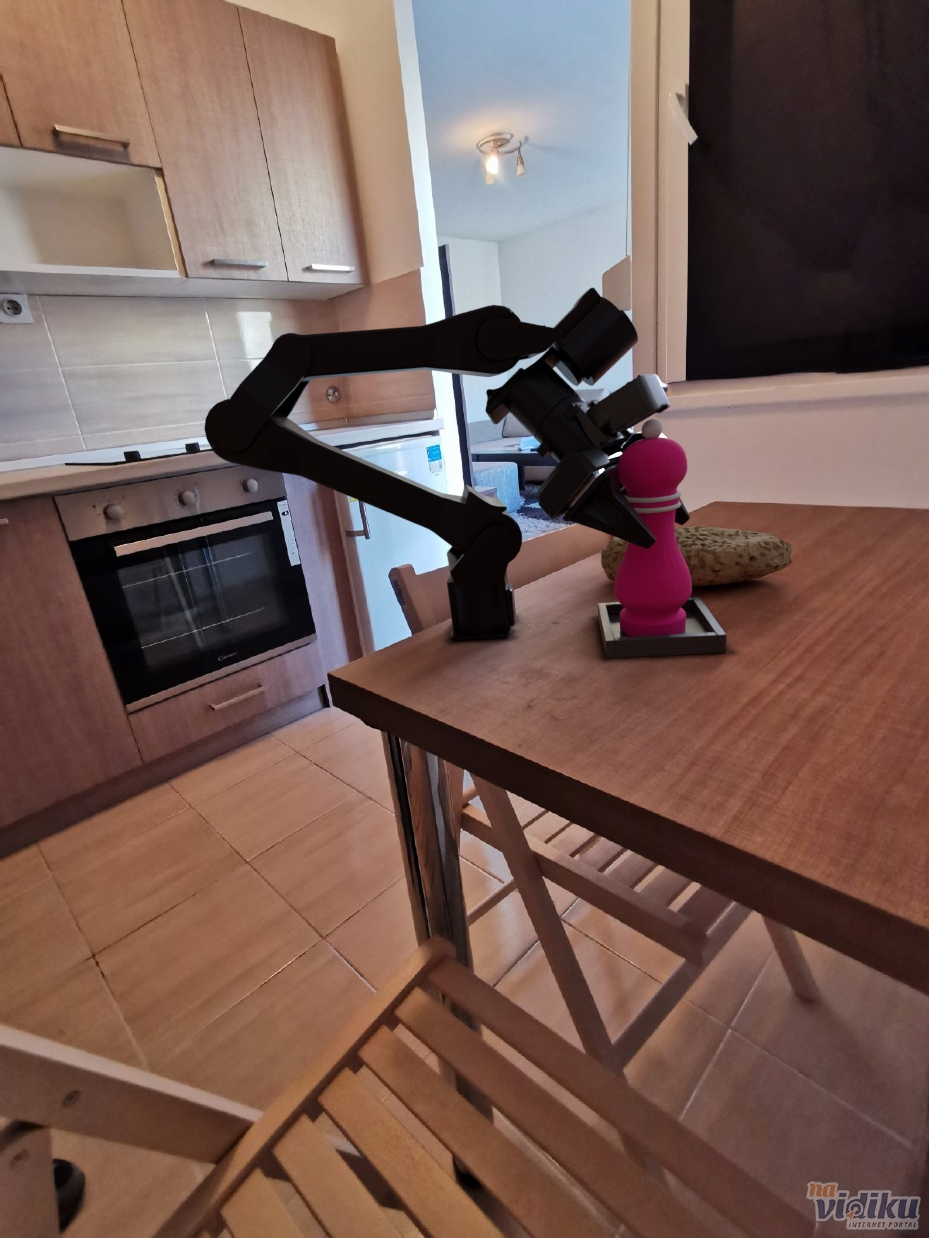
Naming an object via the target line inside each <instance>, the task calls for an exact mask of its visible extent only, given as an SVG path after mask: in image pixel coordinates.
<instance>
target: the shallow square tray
mask: <svg viewBox="0 0 929 1238" xmlns="http://www.w3.org/2000/svg"><path fill="white" fill-rule="evenodd" d="M680 608H682V609H683V610H684V611H685V612H686V629H685V631H684V632H683V633H682V634H670V635H651V636H632V637H628V636H626V635H625V634H623V633H622V631H621V630H620V612H621V611H622V610H623V609H624V607H623V606H622V605H621V604H620V603H619V601H611V602H598V603H597V619H598V624H599V630H600V634H601V640H602V643H603V649H604V654H605V658H606V659H619V658H620V659H621V658H641V657H662V656H663V657H665V656H684V655H687V656H688V655H706V654H709V655H710V654H726V652H727V636H728V635H727V634H726V632H725V631H724V630H723V628H722V626H721V625H720V624H719V622H718V621H717V620H716V618H715V617H714V616H713V614H712V613H711V611H710V610H709V609H708V607H707V605H706V604H705V603H704V602H703V600H702V598H701V597H699V596H692V597H691V596H690V597H689V598H688V600H687V601H686V602H685V603H684V604H683V605H682V606H681V607H680Z"/></svg>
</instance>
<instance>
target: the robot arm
mask: <svg viewBox="0 0 929 1238" xmlns="http://www.w3.org/2000/svg"><path fill="white" fill-rule="evenodd" d="M638 341H639V335H638V332H637V329H636V327H635V325H634V324H633V322H632V320H631V319H630V317H629V315H628V314H627V313H626V312H625V311H624V310H623V309H619V308H618V307H617V305H615V304H614V303H613V302H612V301H611V300H609V299H607V298H606V297H604V296H601V295H600V293H599V292H598V291H597V290H596V288H595V287H590V288H589V289H587V290H586V291H585V292H584V293H583V294H581V296H580V297H578V299H576V301H575V303H574V304H573V306H572V308H571V309H570V310H569V311H567V313H566V314H565V315H564V316H563V317H562V318H560V319H559V321H558V322H557V323H556V324H554V326H553V327H551V326H547V325H545V324H543V325H541V324H536V323H531V322H526V321H521V318H520V317H519V316H518V315H517V314H516V313H515V312H514V311H513V310H512V309H511V308H510V307H507V306H505V305H498V304H489V305H486V306H482V307H479V308H476V309H475V308H474V309H471V310H467V311H465V312H461V313H457V314H454V315H452V316H448V317H446V318H443V319H440V320H437V321H435V322H430V323H428V324H427V323H426V324H424V325H416V326H415V325H414V326H400V327H389V328H388V327H387V328H376V329H365V330H364V329H363V330H361V329H360V330H349V331H336V332H322V333H311V334H310V333H309V334H300V333H296V332H287V333H284V334H281V335H279V336H278V337H277V338H276V339H274V342H273V344H272V345H271V347H270V349H269V350H268V352H267V353H266V354H265V356H264V357H263V358H262V359H261V361H260V362H258V364H257V365H256V366H255V367H254V368H253V369H252V370H251V371H250V373H249V374H248V375H247V376H246V377H245V378H244V379H243V380H242V381H241V382H240V384H239V385H238V386H237V387H236V389H235V390H234V391H233V393H232V395H231V396H230V398H227V399H223V400H221V401H219V402H217V403H215V404H214V405H213V406H212V407H211V408H210V409H209V411H208V412H207V415H206V417H205V419H204V433H205V438H206V440H207V443H208V444H209V446H210V448H211V451H212V452H213V453H214V454H215V455H216V456H217V457H218V458H220V459H222V460H223V461H225V462H228V463H231V464H235V465H240V466H244V467H247V468H253V469H257V470H261V471H267V472H274V473H281V474H288V475H293V476H297V477H302V478H303V479H306V480H308V481H312V482H314V483H315V484H319V485H320V486H323V487H326V488H328V489H331V490H333V491H335V492H337V493H340V494H342V495H345V496H348V497H350V498H352V499H355V500H357V501H359V502H362V503H365V504H366V505H369V506H372V507H374V508H376V509H378V510H380V511H384V512H386V513H389V514H391V515H393V516H396V517H398V518H401V519H402V520H405V521H408V522H410V523H413V524H415V525H417V526H419V527H422V528H425V529H426V530H429V531H430V532H432V533H433V534H435V535H436V536H437V537H439V538H440V539H442V540H443V541H444V542H446V543H447V544H448V545H449V546H451V547H450V548H449V549H448V550H447V552H446V557H447V562H448V564H447V565H448V568H449V574H450V575H449V577H448V578H447V581H446V587H447V595H448V602H449V610H450V618H451V625H452V629H451V631H450V634H449V637H450V640H451V641H464V640H482V639H483V640H485V639H502V638H509V637H510V636H511V632H512V627H514V626H515V625H516V621H517V609H516V597H515V589H514V587H515V586H514V584H513V582H509V581H508V567H509V564H510V563H511V562H512V561H514V560H515V559H516V557H517V556H518V554H519V553H520V551H521V548H522V546H523V545H522V544H523V532H522V529H521V527H520V525H519V523H518V521H516V520H515V518H514V517H513V516H512V515H511V513H510V512H509V511H508V507H507V506H506V505H505V504H504V502H503V501H502V500H501V499H500V498H499V497H498V496H497V497H496V496H487V495H484V494H482V493H481V492H480V491H478V490H476V489H474V488H473V487H472V486H470V485H468V484H465V485H464V487H463V489H462V490H463V491H462V495H456V494H450V493H444V492H441V491H438V490H436V489H434V488H431V487H429V486H426V485H425V484H421V483H420V482H417V481H415V480H412V479H411V478H408V477H406V476H403V475H401V474H398V473H396V472H394V471H391V470H389V469H387V468H386V467H385V468H384V467H383V466H380V465H377V464H375V463H373V462H371V461H368V460H366V459H363V458H361V457H360V456H356V455H354V454H352V453H350V452H347V451H345V450H343V449H341V448H339V447H336V446H334V445H331V444H329V443H326V442H324V441H322V440H320V439H317V438H316V437H315V436H313V435H312V434H310V433H309V432H308V431H307V430H305V429H304V428H303V427H302V426H300V425H298V424H297V423H296V422H294V421H293V420H292V419H290V418H289V416H290V415H291V414H292V412H293V410H294V409H295V408H296V405H297V404H298V402H299V401H300V398H301V397H302V395H303V393H304V392H305V390H306V388H307V387H308V385H310V382H311V381H312V380H316V379H327V378H338V377H339V378H340V377H350V376H363V375H375V374H387V373H388V374H389V373H401V372H402V373H403V372H413V371H435V372H442V373H449V374H454V375H455V374H457V375H463V376H474V377H481V378H482V377H483V378H492V377H496V376H499V375H502V374H504V373H507V372H509V371H511V369H514V368H515V366H516V365H517V364H518V363H519V362H520V361H524V360H528V359H531V358H534V357H536V356H538V355H540V354H542V353H543V354H542V355H541V356H540V357H539V358H537V360H535V362H533V363H532V364H530V365H529V366H527V367H526V368H523V367H519V368H518V369H517V370H516V371H515V372H514V373H513V374H512V375H511V376H510V377H509V378H508V379H507V380H506V381H505V382H504V384H502V385H501V386H498V387H497V388H489V389H486V391H485V395H486V404H485V410H484V411H485V413H486V415H487V416H488V418H489V419H490V421H491V423H492V424H493V425H498V424H500V423H501V421H503V419H505V418H506V417H507V416H508V415H509V414H511V415H512V417H514V418H515V419H516V421H518V422H519V423H520V424H521V425H522V426H523V428H525V430H526V431H527V432H528V433H529V434H530V435H531V436H532V437H533V438H534V439H535V440H536V441H537V442H538V443H539V445H538V447H537V449H536V450H535V452H536V453H537V454H538V455H539V456H540V457H541V458H542V459H545V458H548V457H552V458H553V459H554V460H555V461H556V462H557V465H556V466H555V467H554V469H553V470H552V471H551V472H550V474H549V475H548V476H547V477H546V478H545V480H544V481H543V482H542V484H541V485H540V486H539V488H538V489H537V501H538V502H537V503H538V506H539V507H540V508H541V509H542V511H544V513H546V515H547V516H548V517H549V518H550V519H551V520H555V519H557V518H559V517H561V516H562V520H563V522H566V523H568V522H572V523H575V524H577V525H580V526H583V527H586V528H589V529H593V530H595V531H598V532H601V533H604V534H607V535H610V536H611V537H613V538H614V537H617V538H620V539H622V540H625V541H627V542H630V543H632V544H635V545H638V546H640V547H643V548H645V549H649V548H650V547H651V546H652V545H653V544H654V543H655V542H656V538H655V537H654V535H653V534H652V532H651V531H650V529H649V528H648V526H647V525H646V524H645V523H644V521H643V520H642V519H641V517H640V516H639V515H638V513H637V512H636V511H635V509H634V508H633V507H632V506H631V504H630V503H629V502H628V500H627V499H626V498H625V495H626V494H628V491H627V489H626V488H625V487H624V486H623V485H622V483H621V482H620V480H619V468H618V464H619V459H620V457H621V455H622V453H623V452H624V450H625V449H626V448H627V447H628V446H630V445H631V444H632V443H634V442H636V441H638V440H641V439H645V438H644V437H643V435H642V430H640V431H637V432H635V431H634V430H632V429H631V428H632V427H634V426H636V425H638V424H640V423H642V422H643V421H645V420H646V419H649V418H650V417H652V416H653V415H655V414H661V413H663V412H664V411H666V410H668V409H669V408H670V407H672V406H671V403H670V401H669V399H668V396H667V394H666V393H667V392H668V391H669V390H668V389H669V386H668V385H667V383H665V382H662V381H661V379H660V377H659V375H657V373H651V374H646V373H641V374H638V375H636V377H635V378H633V379H631V380H630V381H627V382H626V383H625V384H624V385H622V386H620V387H619V388H617V389H616V390H615V391H613V392H612V393H610V394H609V395H607V396H605V397H604V398H602V399H600V400H599V399H590V400H589V399H588V400H585V399H584V398H583V397H582V396H581V395H580V393H578V392H577V391H576V390H575V389H574V388H573V387H572V386H571V385H570V384H569V383H568V382H567V381H569V382H570V383H571V384H572V385H574V386H575V387H579V386H580V385H581V384H582V382H583V383H585V384H586V385H588V386H591V387H594V385H596V384H597V382H598V381H600V379H602V377H604V376H605V375H606V374H607V373H608V372H609V371H610V370H611V369H612V368H613V367H614V366H615V365H616V364H617V363H618V362H619V361H620V360H621V359H622V358H623V357H624V356H625V355H626V354H627V353H628V352H629V351H631V349H632V348H633V347H635V345H636V344H637V343H638ZM554 368H556V370H558V371H559V372H560V373H561V375H562V376H563V377H564V378H565V379H566V380H567V381H566V380H565V379H564V378H563V377H561V375H560V374H558V372H557V371H556V370H555V369H554ZM659 437H663V438H668V437H667V436H666V435H665V434H664V433H663V432H662V433H661V435H660V436H659ZM679 498H680V503H681V506H680V507H679V508H677V509H676V512H675V524H677V525H678V526H679V525H680V526H684V525H685V524H686V523H688V521H689V520H690V519H691V515H690V514H689V512H688V510H687V507H686V506H685V504H684V502H683V500H682V498H681V496H680V497H679Z"/></svg>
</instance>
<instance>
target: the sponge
mask: <svg viewBox="0 0 929 1238" xmlns="http://www.w3.org/2000/svg"><path fill="white" fill-rule="evenodd" d="M675 535H676V540H677V544H678V546H679V549H680V551H681V554H682V556H683V558H684V560H685V562H686V564H687V566H688V569H689V573H690V576H691V584H692V587H705V586H719V585H720V586H721V585H728V584H733V583H740V582H745V581H750V580H753V579H759V578H763V577H766V576H769V575H770V574H774V573H776V572H780V571H781V570H784V569H785V568H787V567H789V566H790V565H791V564H792V563H793V562H792V559H791V556H792V552H793V551H792V550H793V549H792V544H791V543H789V542H786V541H784V540H783V539H781V538H780V537H777V536H776V535H775V534H771V533H768V532H759V531H753V530H744V529H738V528H737V529H736V528H735V529H733V528H726V527H715V526H701V525H697V526H696V525H695V526H687V527H675ZM627 546H628V542H627V541H625V540H622V539H620V538H617V537H614V536H613V538H612V539H610V540H609V541H608V544H607V545H606V549H604V548H603V549H602V550H601V552H600V556H601V557H600V563H601V564H600V565H601V567H602V569H603V571H604V573H605V575H606V577H607V579H608V580H610V581H611V582H615V577H616V574H617V570H618V568H619V565H620V563H621V561H622V559H623V557H624V554H625V552H626V549H627Z"/></svg>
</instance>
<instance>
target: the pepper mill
mask: <svg viewBox="0 0 929 1238" xmlns="http://www.w3.org/2000/svg"><path fill="white" fill-rule="evenodd" d="M641 431H642V435H643V437H644V438H645V439H641V440H638V441H636V442H634V443H632V444H631V445H630V446H628V447H627V448H626V449H625V450H624V452H623V453H622V455H621V457H620V459H619V464H618V468H619V480H620V482H621V483H622V485H623V486H624V487H625V488H626V489H627V491H628V494H626V495H625V498H626V499H627V500H628V502H629V503H630V504H631V506H632V507H633V508H634V509H635V511H636V512H637V513H638V515H639V516H640V517H641V519H642V520H643V521H644V523H645V524H646V525H647V526H648V528H649V529H650V531H651V532H652V534H653V535H654V537H655V538H656V542H655V543H654V544H653V545H652V546H651V547H650V548H649V549H645V548H643V547H640V546H638V545H635V544H632V543H630V542H628V546H627V549H626V552H625V554H624V557H623V559H622V561H621V563H620V565H619V568H618V570H617V574H616V577H615V581H614V587H613V594H614V596H615V599H616V600H617V602H619V603H620V604H621V605H622V606H623V607H624V609H623V610H622V611H621V612H620V630H621V631H622V633H623V634H625V635H626V636H628V637H632V636H651V635H670V634H682V633H683V632H684V631H685V629H686V612H685V611H684V610H683V609H682V608H680V607H681V606H682V605H683V604H684V603H685V602H686V601H687V600H688V598H690V597H691V595H692V592H693V586H692V584H691V576H690V573H689V569H688V566H687V564H686V562H685V560H684V558H683V556H682V554H681V551H680V549H679V546H678V544H677V540H676V535H675V529H676V523H675V512H676V509H677V508H679V507H680V506H681V503H680V499H681V496H682V492H681V491H679V490H678V487H679V485H680V484H681V483H682V482H683V481H684V480H685V477H686V475H687V473H688V458H687V454H686V452H685V450H684V448H683V447H682V445H680V444H679V443H678V442H677V441H676V440H673V439H671V438H668V437H667V438H663V437H659V436H660V435H661V433H663V425H662V422H660V420H658V419H655V418H651V419H648V420H646V421H645V422H644V423H643V424H642V425H641ZM679 497H680V498H679Z"/></svg>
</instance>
